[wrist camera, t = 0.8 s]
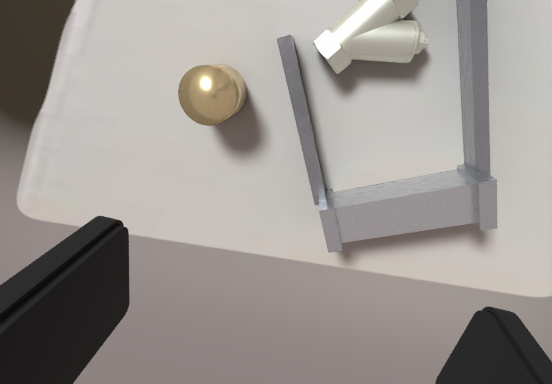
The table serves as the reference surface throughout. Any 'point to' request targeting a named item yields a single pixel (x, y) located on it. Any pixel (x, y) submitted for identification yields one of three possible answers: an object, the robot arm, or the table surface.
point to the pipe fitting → (372, 34)
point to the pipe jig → (419, 190)
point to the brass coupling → (212, 93)
